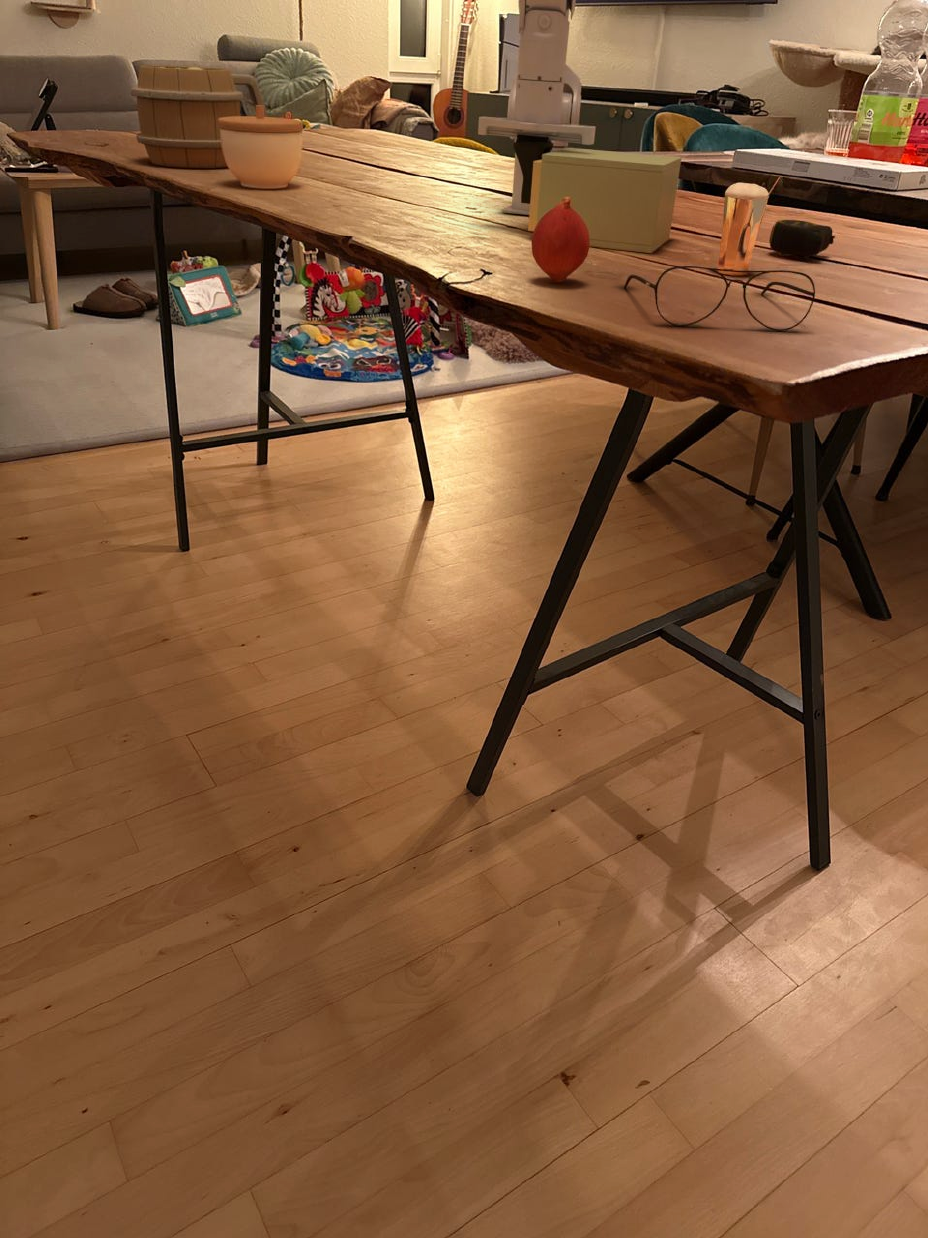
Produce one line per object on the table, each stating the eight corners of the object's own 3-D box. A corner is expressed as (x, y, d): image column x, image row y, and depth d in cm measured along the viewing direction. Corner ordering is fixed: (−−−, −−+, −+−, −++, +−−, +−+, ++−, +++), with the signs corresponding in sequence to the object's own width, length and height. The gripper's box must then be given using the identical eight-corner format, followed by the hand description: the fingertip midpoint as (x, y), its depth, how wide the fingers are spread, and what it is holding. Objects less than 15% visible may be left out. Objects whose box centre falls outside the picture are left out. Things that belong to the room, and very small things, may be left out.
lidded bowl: (321, 186, 148) (319, 107, 142) (266, 193, 138) (261, 109, 133) (262, 178, 153) (257, 101, 147) (205, 184, 144) (198, 102, 138)
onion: (519, 282, 94) (525, 196, 90) (542, 273, 98) (549, 190, 94) (572, 290, 92) (581, 202, 88) (593, 281, 96) (603, 196, 92)
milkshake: (753, 280, 101) (773, 178, 95) (705, 272, 103) (723, 172, 98) (765, 273, 104) (785, 175, 99) (719, 266, 106) (736, 169, 101)
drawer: (518, 229, 116) (523, 160, 112) (543, 218, 125) (548, 153, 121) (634, 242, 112) (644, 171, 108) (651, 230, 120) (661, 163, 116)
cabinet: (535, 239, 116) (542, 153, 111) (560, 227, 125) (568, 147, 120) (651, 253, 111) (664, 164, 106) (669, 239, 121) (681, 157, 116)
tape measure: (815, 264, 111) (823, 230, 109) (759, 255, 114) (766, 222, 112) (830, 256, 116) (838, 224, 114) (775, 248, 119) (782, 216, 117)
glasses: (649, 325, 81) (656, 264, 79) (621, 305, 95) (627, 253, 93) (810, 332, 82) (822, 272, 80) (760, 312, 95) (769, 260, 93)
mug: (296, 166, 169) (292, 70, 161) (170, 171, 155) (159, 66, 147) (242, 155, 181) (236, 65, 173) (120, 159, 166) (107, 61, 158)
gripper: (472, 75, 111) (465, 199, 118) (589, 85, 107) (575, 212, 114) (492, 75, 117) (485, 193, 124) (604, 84, 112) (590, 206, 120)
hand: (529, 202), depth 119 cm, fingers closed, pressing on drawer
